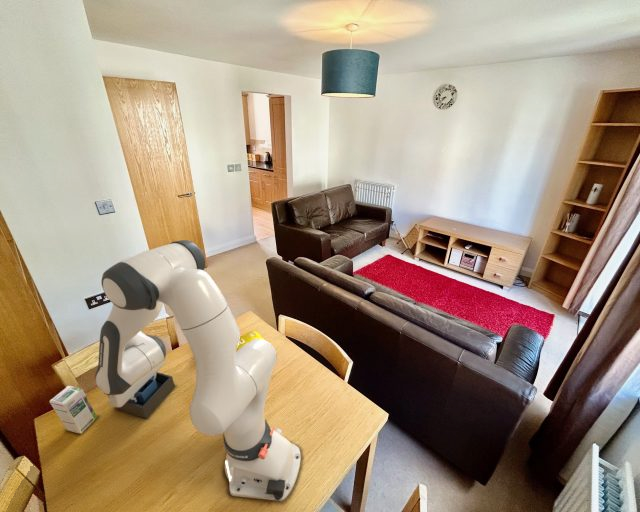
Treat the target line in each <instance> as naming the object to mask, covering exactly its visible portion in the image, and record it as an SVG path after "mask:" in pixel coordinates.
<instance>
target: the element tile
mask: <svg viewBox="0 0 640 512" xmlns="http://www.w3.org/2000/svg"><path fill="white" fill-rule="evenodd" d="M253 339H263V340H265V338H264V337H262V336H261V334H260V333H258V332H257V331H255V330H251V331H248V332H247V333H245V334H243V335H240V340H239V343H238V346H237V350H236V352H237V351H238V350H239V349H240V348H241V347H243V346H244V345H245V344H247V343H248V342H250V341H252V340H253Z"/></svg>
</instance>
